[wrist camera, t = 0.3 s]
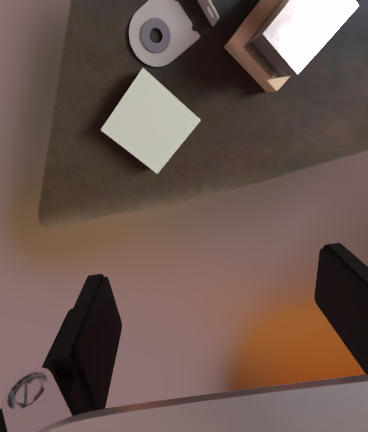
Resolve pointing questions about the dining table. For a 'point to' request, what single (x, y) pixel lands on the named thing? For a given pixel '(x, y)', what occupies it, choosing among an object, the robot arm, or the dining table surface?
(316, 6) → the block
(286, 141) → the dining table surface
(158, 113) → the stand
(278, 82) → the stand
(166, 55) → the bracket
